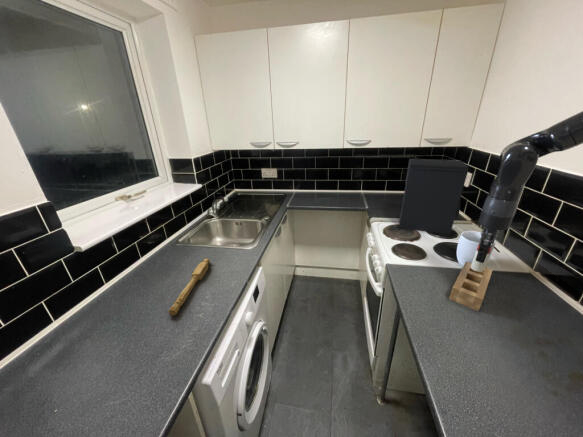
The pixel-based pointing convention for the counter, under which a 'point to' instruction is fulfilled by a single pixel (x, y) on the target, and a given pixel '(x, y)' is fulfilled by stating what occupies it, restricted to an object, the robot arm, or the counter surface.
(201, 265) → the tap handle
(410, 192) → the tall black box
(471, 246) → the mug
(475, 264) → the red capped shaker
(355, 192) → the counter surface
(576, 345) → the counter surface
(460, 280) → the holder
